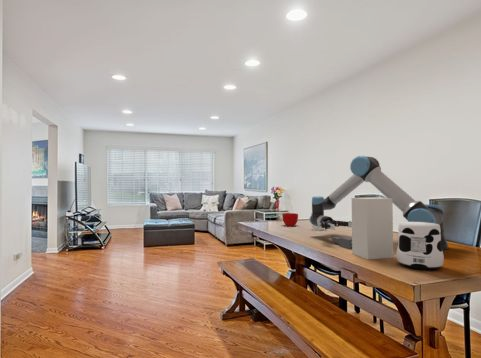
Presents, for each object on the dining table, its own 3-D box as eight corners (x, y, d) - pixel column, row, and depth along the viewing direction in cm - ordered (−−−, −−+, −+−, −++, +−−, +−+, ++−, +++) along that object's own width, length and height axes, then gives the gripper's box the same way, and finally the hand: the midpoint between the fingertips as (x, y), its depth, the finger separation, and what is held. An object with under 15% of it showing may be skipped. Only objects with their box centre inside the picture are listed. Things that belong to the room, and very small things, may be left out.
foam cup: (310, 230, 233) (310, 213, 234) (312, 228, 242) (312, 212, 242) (323, 231, 230) (323, 213, 230) (324, 229, 238) (324, 212, 239)
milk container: (423, 260, 141) (423, 220, 141) (454, 271, 124) (453, 226, 124) (388, 262, 139) (387, 221, 139) (414, 273, 122) (413, 227, 122)
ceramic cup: (302, 225, 264) (302, 213, 264) (294, 227, 250) (294, 215, 250) (288, 224, 271) (288, 212, 271) (279, 226, 257) (279, 214, 257)
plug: (329, 243, 183) (329, 235, 183) (337, 242, 185) (337, 234, 185) (351, 250, 165) (351, 240, 165) (360, 249, 167) (360, 239, 167)
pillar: (352, 253, 156) (351, 197, 156) (376, 252, 159) (375, 197, 159) (367, 259, 144) (366, 199, 144) (393, 257, 147) (392, 198, 148)
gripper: (343, 227, 198) (364, 232, 177) (307, 229, 191) (324, 234, 171) (343, 215, 198) (364, 219, 177) (307, 216, 191) (324, 220, 171)
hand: (345, 226), depth 174 cm, fingers open, 13 cm apart
